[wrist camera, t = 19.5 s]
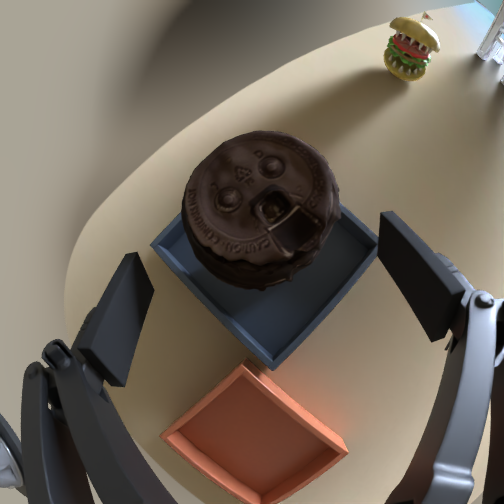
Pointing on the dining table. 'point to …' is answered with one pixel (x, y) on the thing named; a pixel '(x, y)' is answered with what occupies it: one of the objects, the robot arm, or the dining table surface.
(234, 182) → the labeled brown jar
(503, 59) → the stool
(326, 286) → the slate tray
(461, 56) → the dining table surface
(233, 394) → the terracotta tray
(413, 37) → the hamburger
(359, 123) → the dining table surface
